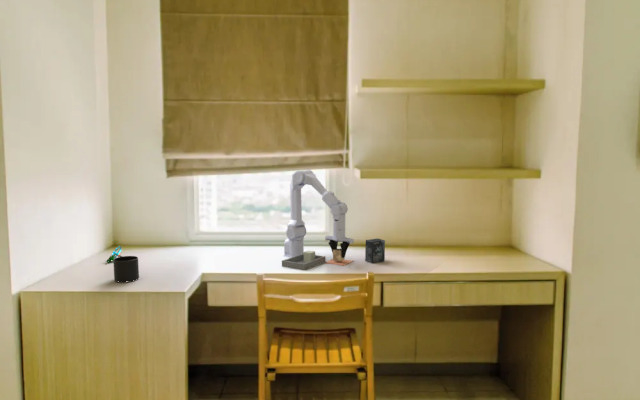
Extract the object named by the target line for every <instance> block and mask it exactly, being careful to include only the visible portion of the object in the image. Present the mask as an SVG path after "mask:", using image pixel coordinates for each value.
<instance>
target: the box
mask: <svg viewBox="0 0 640 400" xmlns="http://www.w3.org/2000/svg"><path fill="white" fill-rule="evenodd" d="M385 248H386V240H385V239H382V238H371V239H370V238H369V239H365V256H364V257H365V258H364V261H365V262H367V263H370V264H375V263H380V262H381V263H382V262H385V261H386V260H385V255H386V253H385V252H386V250H385Z"/></svg>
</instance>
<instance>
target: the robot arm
mask: <svg viewBox="0 0 640 400" xmlns="http://www.w3.org/2000/svg"><path fill="white" fill-rule="evenodd" d="M306 185H308V186H311V187H312V188H313V189H314V190H316V192H318V193H319V195H321V199H322V201H323V202H324V203H325V204H326V205H327V207H328V208H329V209H330V213H331V214H332V221H333V222H332V223H333V224H332V228H333V229H332V230H333V231H332V235H326V236H325V237H324V239H325V241H329V242H328V245H329V247H330V249H331V252H332V254H333V250H335V249H338V244H339V243H340V244H339V245H340V249H341V256H342V258H344V257H345V258H346V253H347V250H348V248H349V247H350V245H351V244H354V242H355V241H354V238H350V237H346V214H347V212H348V206H347V204H346V203H345V202H343V201H341V199H339V198H338V197H337V196H336V195H335V192H332V191H329V190H327V189H326V188H325V186H324V185H323V183H321V181H320V180H319V179H318V178H317V175H316V173H314V172H313V171H312V170H311V169H305V170H304V169H303V170H298V169H297V170H296V171H294V172H293V173H292V175H291V181H290V183H289V196H290V197H289V198H290V199H289V200H290V202H289V203H290V220H289V222H288V224H287V228H286V231H285V233H286V234H285V235H286V237H287V238H285V240H284V242H283V243H284V244H283V245H284V246H283V248H284V250H283V252H284V253H283V256H282V257H288V258H291V257H294V256H297V255H300V254H303V253H304V252H305V251H304V249H305V247H304V239H305V236H306V234H307V228H306V226H305V225H306V224H305V221H304V220H303V216H302V214H303V213H302V212H303V211H302V189H303V187H304V186H306Z"/></svg>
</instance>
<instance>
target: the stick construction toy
mask: <svg viewBox="0 0 640 400" xmlns="http://www.w3.org/2000/svg"><path fill="white" fill-rule="evenodd" d="M121 252H122V247H121V246H120V245H119V246H118V247H116V248H115V249H114V250H113V251H112V254H111V255H109V257H108V258H107V260H106V262H108V261H111V260H114V259H115V258H118V257H123V255H121ZM111 262H112V261H111ZM108 263H109V262H108Z"/></svg>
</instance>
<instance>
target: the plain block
mask: <svg viewBox="0 0 640 400" xmlns="http://www.w3.org/2000/svg"><path fill="white" fill-rule="evenodd" d="M315 255H316V251H315V250H305V251H304V263H307V262H310V261H313V260H315Z"/></svg>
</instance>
